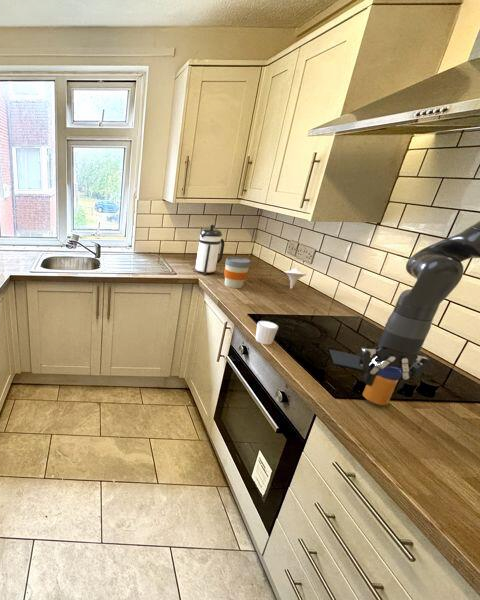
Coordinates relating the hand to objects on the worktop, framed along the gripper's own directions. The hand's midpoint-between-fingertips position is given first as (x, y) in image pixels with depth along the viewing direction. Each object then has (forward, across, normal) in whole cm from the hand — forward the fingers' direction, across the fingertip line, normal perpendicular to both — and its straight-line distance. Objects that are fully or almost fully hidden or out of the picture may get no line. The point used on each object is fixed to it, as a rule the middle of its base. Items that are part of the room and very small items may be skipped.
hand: (381, 385), depth 85 cm
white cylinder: (+6, -23, +29) cm, 37 cm away
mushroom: (+7, +2, +99) cm, 99 cm away
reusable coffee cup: (+6, -28, +94) cm, 98 cm away
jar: (+4, 0, 0) cm, 4 cm away
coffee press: (+6, -42, +116) cm, 124 cm away
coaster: (+6, +3, +24) cm, 24 cm away
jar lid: (-6, 0, 0) cm, 6 cm away
